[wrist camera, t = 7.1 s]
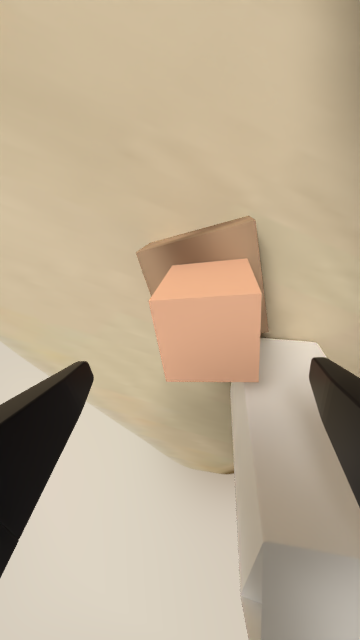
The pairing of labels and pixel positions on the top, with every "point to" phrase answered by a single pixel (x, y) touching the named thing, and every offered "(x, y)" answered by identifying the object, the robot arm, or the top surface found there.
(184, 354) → the terracotta cube
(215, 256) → the walnut block
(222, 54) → the top surface
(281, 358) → the milk carton
